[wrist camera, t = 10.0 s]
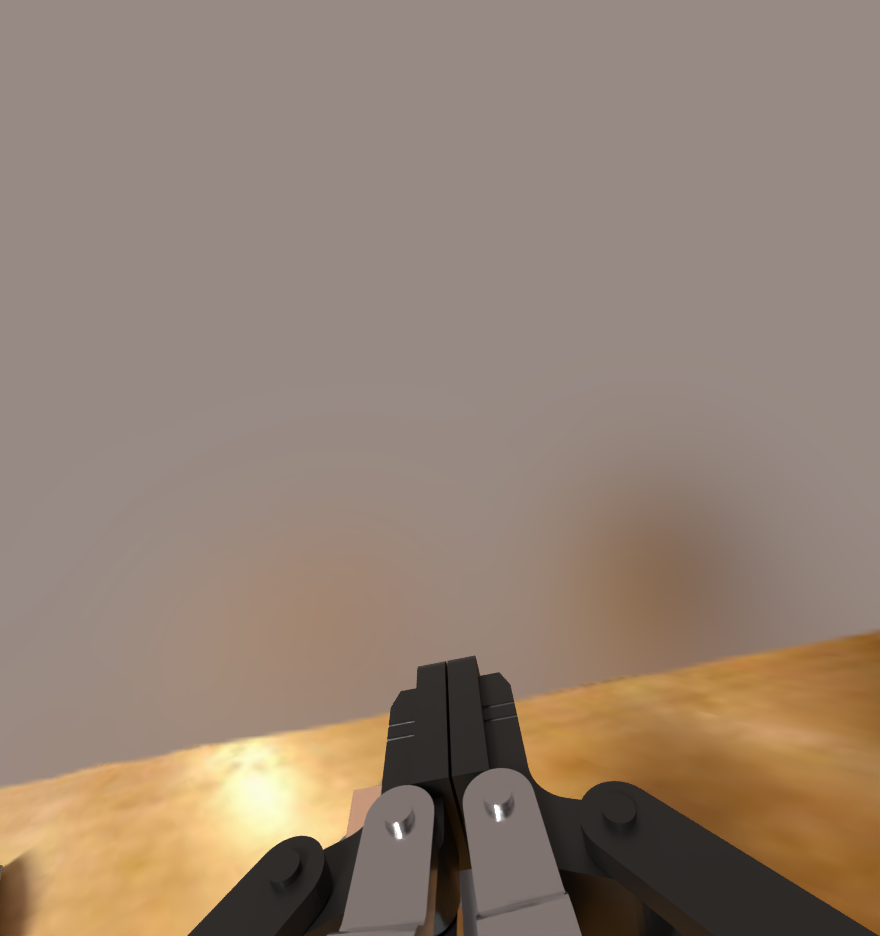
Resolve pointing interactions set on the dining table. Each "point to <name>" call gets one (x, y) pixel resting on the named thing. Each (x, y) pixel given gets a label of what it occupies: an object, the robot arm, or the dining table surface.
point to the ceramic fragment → (0, 869)
